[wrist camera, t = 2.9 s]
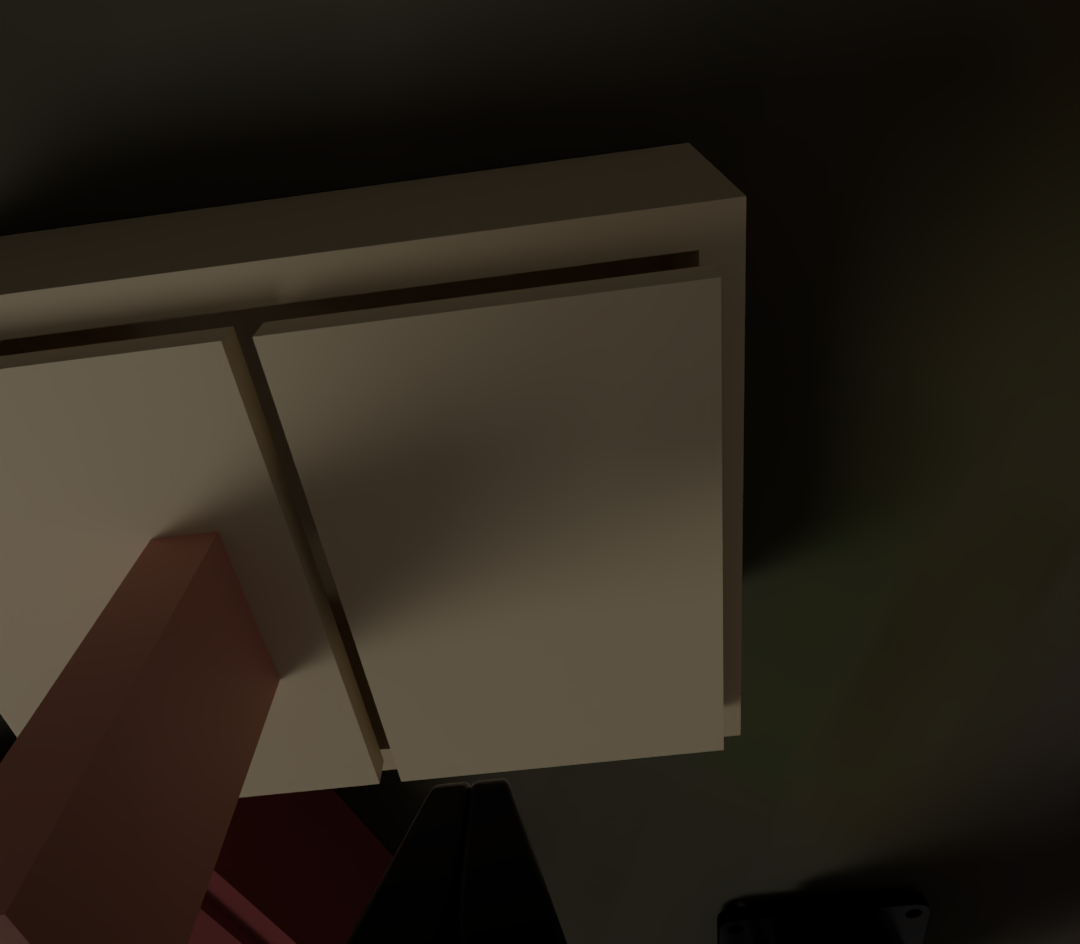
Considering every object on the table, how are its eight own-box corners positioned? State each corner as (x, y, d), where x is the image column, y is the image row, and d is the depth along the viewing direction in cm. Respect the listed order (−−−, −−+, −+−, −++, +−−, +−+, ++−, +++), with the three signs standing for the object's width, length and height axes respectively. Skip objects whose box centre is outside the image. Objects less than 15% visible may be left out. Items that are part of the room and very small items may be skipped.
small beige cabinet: (700, 597, 18) (740, 734, 15) (160, 655, 19) (82, 800, 16) (688, 142, 13) (746, 196, 10) (-52, 243, 14) (-238, 326, 11)
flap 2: (717, 727, 14) (723, 750, 14) (405, 759, 15) (400, 781, 14) (712, 264, 10) (721, 277, 10) (263, 322, 10) (252, 336, 10)
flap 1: (384, 760, 15) (310, 1172, 10) (83, 790, 15) (-144, 1205, 10) (234, 326, 10) (-53, 662, 5) (-190, 380, 11) (-860, 750, 5)
